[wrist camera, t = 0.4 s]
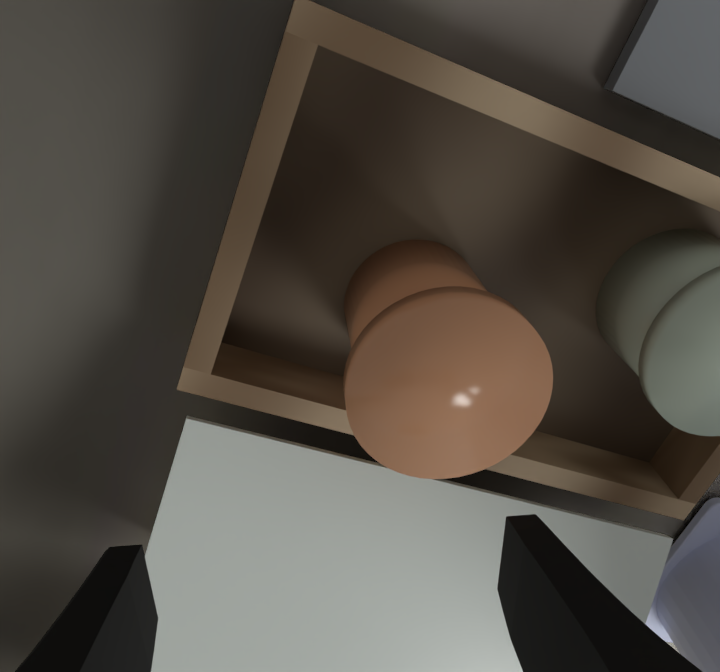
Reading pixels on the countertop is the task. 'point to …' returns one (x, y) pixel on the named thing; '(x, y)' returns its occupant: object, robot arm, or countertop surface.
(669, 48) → the slate mat
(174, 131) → the countertop surface
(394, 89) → the brown rectangular frame
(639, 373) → the glazed pot
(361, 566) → the lid
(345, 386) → the pot
